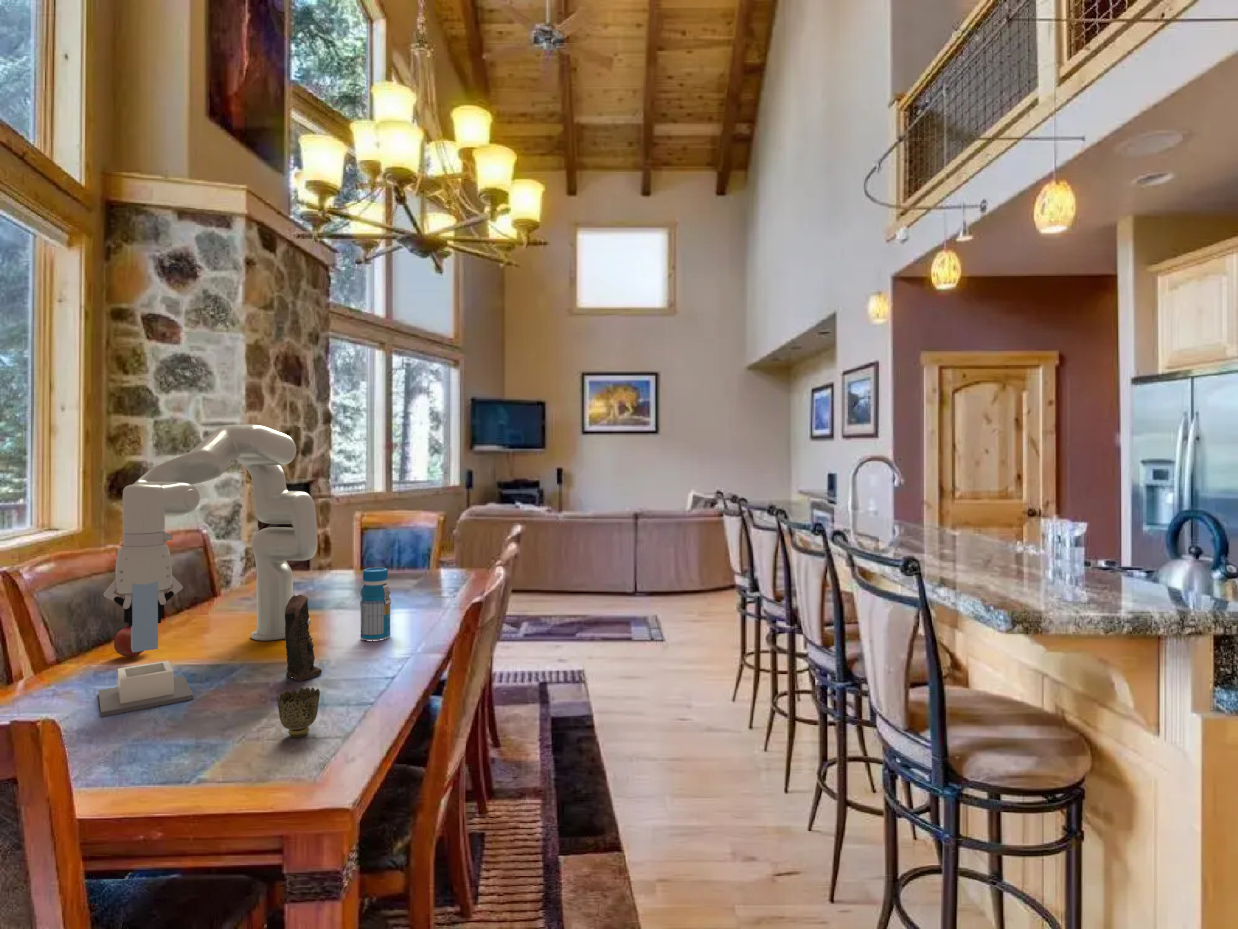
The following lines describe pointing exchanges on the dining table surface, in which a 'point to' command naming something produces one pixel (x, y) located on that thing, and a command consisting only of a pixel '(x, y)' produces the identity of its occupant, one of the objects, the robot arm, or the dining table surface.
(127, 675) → the well
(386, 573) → the beverage bottle
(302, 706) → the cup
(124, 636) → the fruit
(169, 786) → the dining table surface
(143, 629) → the post
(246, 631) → the dining table surface
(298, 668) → the statue
